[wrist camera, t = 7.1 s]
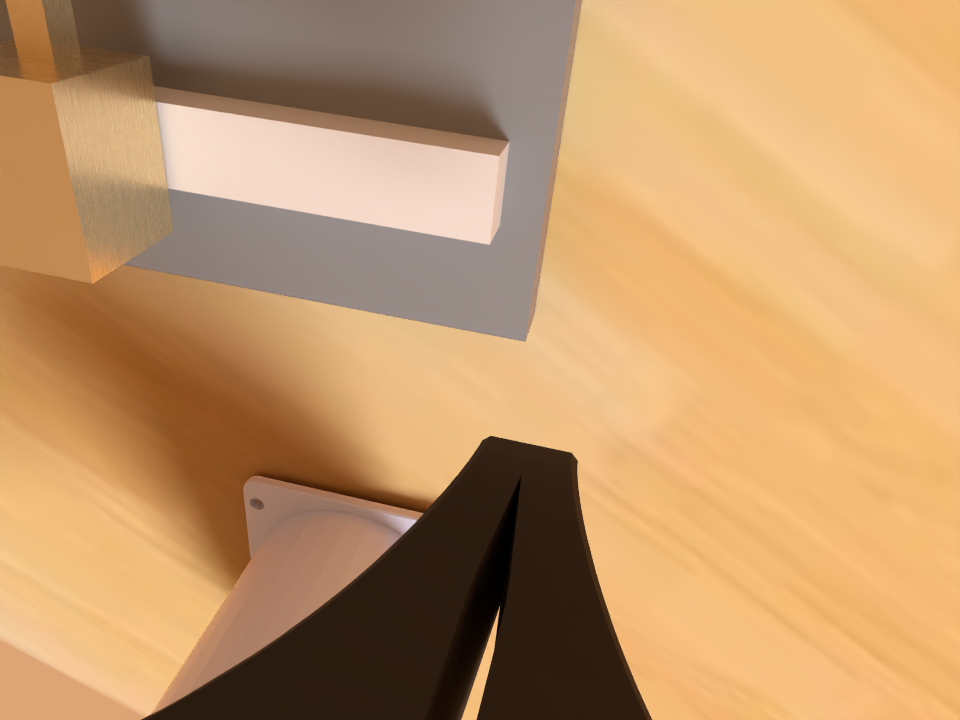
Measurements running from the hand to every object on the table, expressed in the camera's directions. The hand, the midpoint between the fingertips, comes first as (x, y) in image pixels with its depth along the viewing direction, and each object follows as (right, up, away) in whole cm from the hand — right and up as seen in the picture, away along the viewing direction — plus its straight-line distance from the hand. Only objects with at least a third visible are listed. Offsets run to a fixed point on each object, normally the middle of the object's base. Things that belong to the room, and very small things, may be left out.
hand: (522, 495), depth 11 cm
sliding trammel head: (-9, +9, +6) cm, 14 cm away
